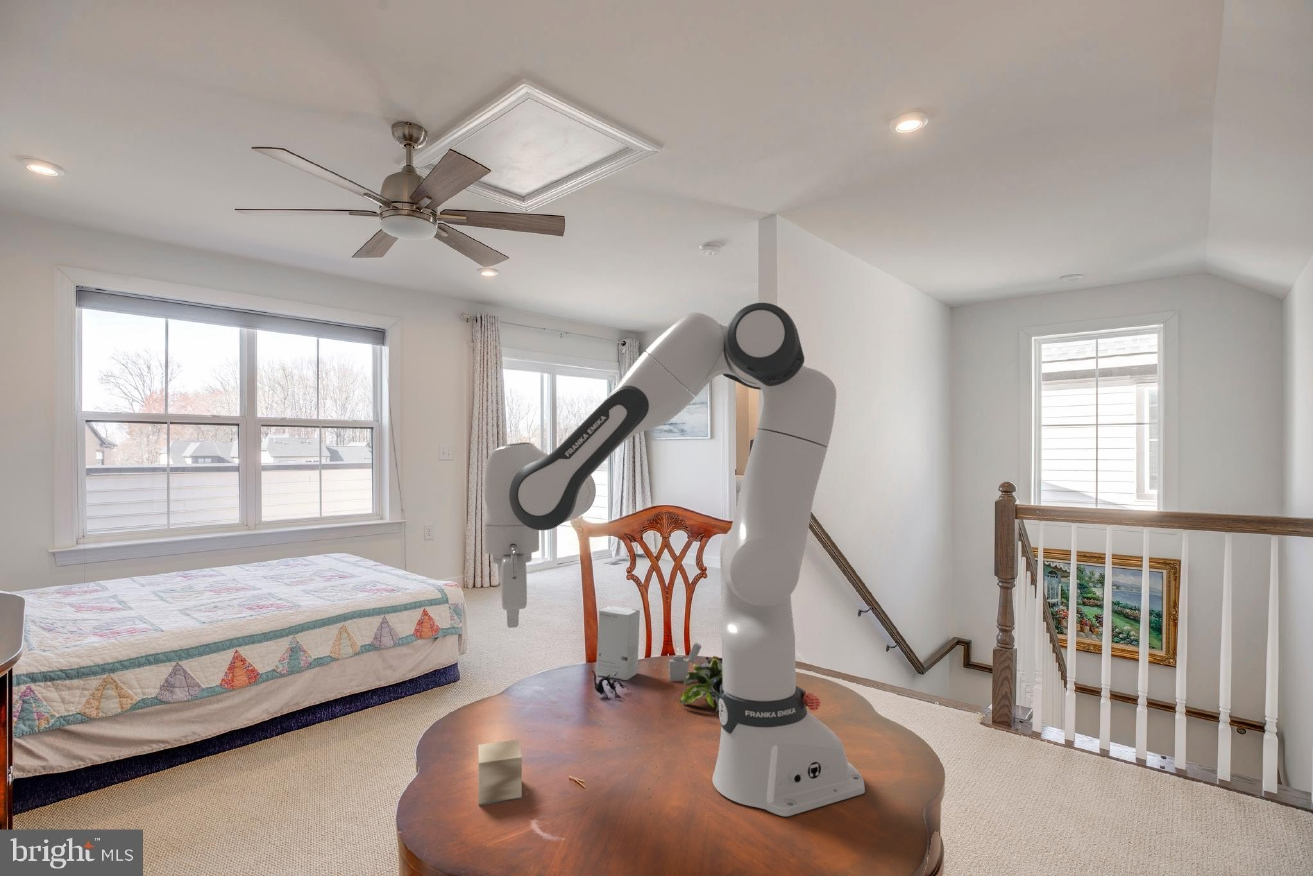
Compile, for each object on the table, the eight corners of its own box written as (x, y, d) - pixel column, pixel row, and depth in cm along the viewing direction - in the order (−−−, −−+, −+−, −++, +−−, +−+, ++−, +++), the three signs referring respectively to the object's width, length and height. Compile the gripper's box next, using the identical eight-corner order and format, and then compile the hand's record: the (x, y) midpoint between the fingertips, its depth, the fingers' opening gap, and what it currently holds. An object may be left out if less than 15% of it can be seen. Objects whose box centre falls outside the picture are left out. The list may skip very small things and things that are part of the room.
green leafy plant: (715, 725, 127) (746, 674, 130) (724, 738, 116) (757, 682, 119) (670, 693, 128) (701, 642, 131) (674, 703, 117) (708, 648, 120)
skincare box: (595, 676, 141) (595, 610, 142) (608, 668, 147) (608, 604, 147) (628, 681, 138) (628, 613, 138) (640, 672, 143) (640, 608, 144)
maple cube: (521, 757, 90) (521, 799, 90) (518, 739, 96) (518, 779, 95) (478, 763, 88) (478, 806, 88) (478, 744, 94) (478, 785, 94)
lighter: (670, 681, 137) (670, 644, 138) (669, 678, 139) (669, 642, 140) (701, 680, 138) (701, 644, 138) (700, 677, 140) (700, 641, 140)
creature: (620, 692, 135) (586, 689, 131) (625, 666, 135) (591, 663, 132) (633, 705, 127) (597, 702, 124) (639, 678, 128) (603, 675, 125)
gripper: (535, 548, 93) (536, 641, 93) (527, 533, 113) (528, 610, 112) (492, 550, 92) (493, 644, 91) (492, 535, 111) (492, 613, 111)
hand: (512, 625), depth 102 cm, fingers closed
